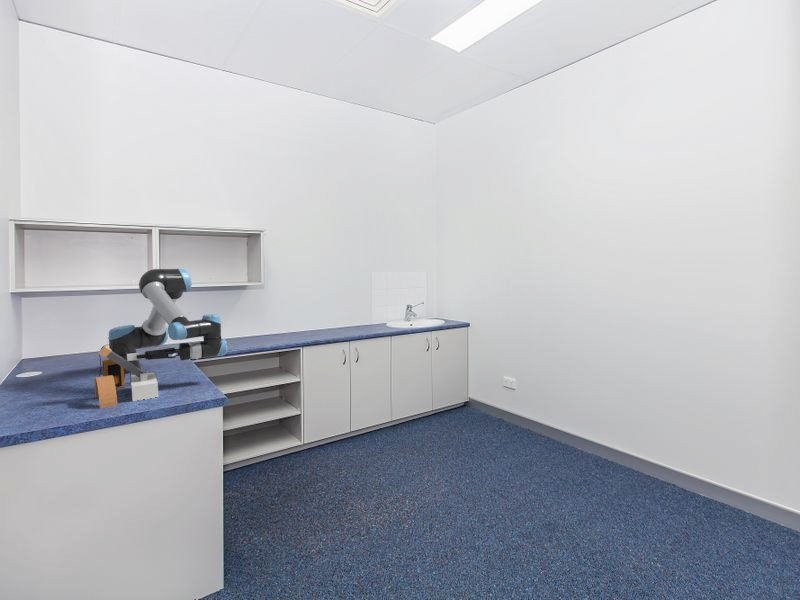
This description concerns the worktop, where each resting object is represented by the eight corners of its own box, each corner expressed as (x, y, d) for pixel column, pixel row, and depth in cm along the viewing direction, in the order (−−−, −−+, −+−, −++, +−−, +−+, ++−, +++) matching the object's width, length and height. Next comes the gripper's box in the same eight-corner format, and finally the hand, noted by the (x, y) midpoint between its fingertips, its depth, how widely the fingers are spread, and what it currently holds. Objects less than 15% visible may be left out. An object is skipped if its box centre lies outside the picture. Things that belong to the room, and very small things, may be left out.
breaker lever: (142, 378, 184) (98, 351, 175) (148, 372, 185) (104, 345, 176) (143, 381, 180) (98, 353, 171) (148, 374, 181) (104, 346, 172)
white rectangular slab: (131, 388, 190) (130, 368, 189) (155, 385, 194) (153, 366, 194) (132, 401, 171) (131, 379, 170) (158, 397, 176) (157, 375, 175)
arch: (111, 394, 182) (110, 371, 181) (117, 405, 166) (115, 380, 166) (95, 397, 178) (93, 373, 178) (99, 408, 163) (97, 383, 162)
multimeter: (125, 381, 202) (123, 339, 200) (133, 385, 196) (131, 341, 194) (88, 388, 191) (85, 344, 189) (95, 392, 184) (92, 346, 183)
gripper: (192, 361, 186) (127, 369, 173) (188, 356, 197) (127, 363, 184) (191, 344, 186) (126, 351, 173) (187, 340, 197) (126, 346, 184)
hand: (127, 357), depth 179 cm, fingers closed
